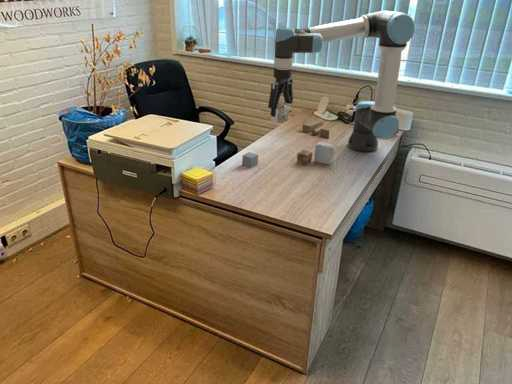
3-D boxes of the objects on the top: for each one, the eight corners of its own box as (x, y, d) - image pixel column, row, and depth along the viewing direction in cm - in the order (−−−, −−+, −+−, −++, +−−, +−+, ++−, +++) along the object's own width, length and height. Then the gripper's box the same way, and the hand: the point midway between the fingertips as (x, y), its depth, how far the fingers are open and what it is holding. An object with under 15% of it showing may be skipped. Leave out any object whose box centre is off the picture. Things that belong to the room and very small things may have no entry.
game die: (282, 130, 189) (289, 117, 180) (265, 122, 189) (270, 108, 180) (289, 116, 193) (296, 102, 185) (272, 108, 193) (278, 93, 184)
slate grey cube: (257, 164, 196) (258, 154, 194) (251, 168, 192) (251, 158, 190) (248, 162, 198) (248, 152, 196) (242, 165, 194) (242, 155, 192)
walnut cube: (311, 162, 201) (312, 152, 198) (306, 165, 197) (307, 155, 195) (301, 159, 203) (302, 149, 201) (296, 163, 199) (297, 152, 197)
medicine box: (333, 162, 201) (335, 144, 197) (330, 165, 198) (332, 147, 194) (316, 158, 204) (318, 141, 200) (313, 162, 201) (315, 144, 197)
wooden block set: (301, 122, 236) (318, 116, 249) (300, 132, 239) (317, 125, 251) (328, 129, 227) (345, 122, 240) (327, 139, 229) (343, 131, 242)
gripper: (288, 63, 188) (285, 113, 198) (260, 70, 172) (258, 125, 182) (303, 65, 184) (299, 116, 195) (276, 73, 168) (274, 128, 178)
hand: (280, 120), depth 188 cm, fingers closed on game die, 9 cm apart
